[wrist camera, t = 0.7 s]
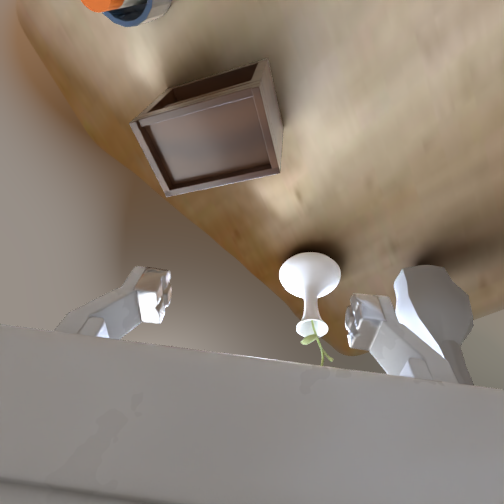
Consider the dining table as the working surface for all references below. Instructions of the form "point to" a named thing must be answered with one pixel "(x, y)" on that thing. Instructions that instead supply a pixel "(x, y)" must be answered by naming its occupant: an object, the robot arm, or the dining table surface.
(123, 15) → the pen cup
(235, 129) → the small wooden shelf
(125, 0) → the marker
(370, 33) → the dining table surface
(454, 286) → the bottle
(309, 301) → the flower in vase
